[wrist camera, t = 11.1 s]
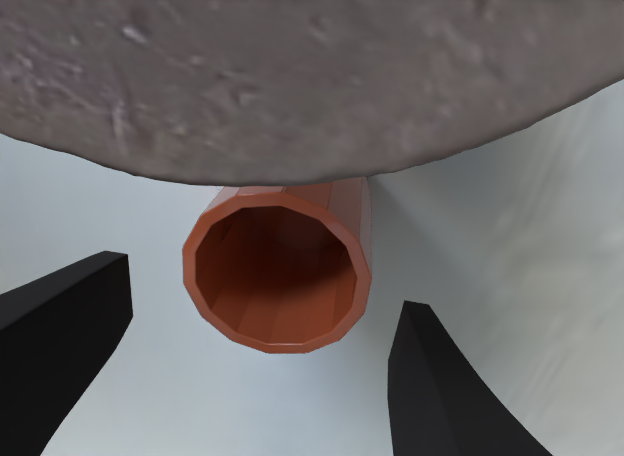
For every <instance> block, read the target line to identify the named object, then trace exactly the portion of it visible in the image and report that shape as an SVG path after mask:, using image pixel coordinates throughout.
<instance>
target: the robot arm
mask: <svg viewBox="0 0 624 456" xmlns="http://www.w3.org/2000/svg"><path fill="white" fill-rule="evenodd" d="M132 318H133V309H132V298H131V286H130V274H129V262H128V254H123V253H117V252H111V251H103V252H100V253H97V254H94V255H92V256H89V257H87V258H85V259H82V260H80V261H78V262H75V263H73V264H71V265H69V266H66V267H64V268H62V269H60V270H57V271H55V272H53V273H51V274H48V275H46V276H44V277H41V278H39V279H37V280H35V281H32V282H30V283H28V284H25V285H23V286H21V287H18V288H16V289H13V290H11V291H8V292H6V293H3V294H1V295H0V456H40V455H41V453H42V452H43V450H44V448H45V447H46V445H47V443H48V442H49V440H50V439H51V437H52V436H53V434H54V433H55V432H56V430H57V429H58V427H59V426H60V424H61V423H62V421H63V420H64V419H65V417H66V416H67V415H68V413H69V412H70V411H71V409H72V408H73V407H74V405H75V404H76V403H77V401H78V400H79V399H80V397H81V396H82V395H83V393H84V392H85V391H86V389H87V388H88V386H89V385H90V384H91V382H92V381H93V380H94V378H95V377H96V376H97V374H98V373H99V372H100V370H101V369H102V367H103V366H104V365H105V363H106V362H107V361H108V359H109V358H110V356H111V355H112V354H113V352H114V351H115V349H116V348H117V346H118V344H119V342H120V340H121V339H122V337H123V335H124V333H125V331H126V329H127V328H128V326H129V324H130V322H131V320H132ZM388 408H389V418H390V427H391V436H392V445H393V455H394V456H553V455H552V454H551V453H550V452H549V451H547V450H546V449H545V448H544V447H543V446H542V445H541V444H540V443H539V442H538V441H537V440H536V439H535V438H534V437H533V436H532V435H531V434H530V433H529V432H528V431H527V430H526V429H525V428H524V427H523V426H522V424H521V423H520V422H519V421H518V420H517V419H516V418H515V417H514V416H513V415H512V414H511V413H510V412H509V411H508V410H507V409H506V407H505V406H504V405H503V404H502V403H501V402H500V401H499V400H498V398H497V397H496V396H495V395H494V394H493V392H492V391H491V390H490V389H489V388H488V386H487V385H486V384H485V383H484V381H483V380H482V379H481V378H480V377H479V375H478V374H477V373H476V371H475V370H474V369H473V368H472V366H471V365H470V363H469V362H468V361H467V359H466V358H465V357H464V355H463V354H462V353H461V351H460V350H459V348H458V347H457V346H456V344H455V343H454V341H453V340H452V338H451V337H450V335H449V334H448V332H447V331H446V329H445V328H444V326H443V325H442V323H441V322H440V320H439V319H438V317H437V316H436V314H435V313H434V312H433V310H432V309H431V307H430V306H429V304H423V303H417V302H411V301H405V300H404V304H403V308H402V311H401V315H400V319H399V322H398V326H397V330H396V333H395V337H394V341H393V345H392V348H391V352H390V356H389V359H388Z"/></svg>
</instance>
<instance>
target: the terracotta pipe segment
mask: <svg viewBox="0 0 624 456" xmlns="http://www.w3.org/2000/svg"><path fill="white" fill-rule="evenodd" d="M182 256H183V283H184V286H185V288H186V290H187V292H188V293H189V295H190V297H191V299H192V301H193V303H194V304H195V306H196V308H197V310H198V312H199V314H200V315H201V316H202V318H204V319H205V320H206V321H207V322H209V323H210V324H211V325H212V326H213V327H215V328H216V329H217V330H218V331H220V332H221V333H222V334H223V335H225V336H226V337H227V338H228V339H229V340H231V341H233V342H236V343H239V344H242V345H245V346H248V347H250V348H253V349H256V350H259V351H262V352H265V353H269V354H298V353H309V352H311V351H314V350H316V349H319V348H321V347H324V346H326V345H329V344H331V343H334V342H336V341H339V340H340V339H342V337H343V336H344V335H345V334H346V333H347V332H348V331H349V330H350V329H351V327H352V326H353V325H354V324H355V323H356V322H357V321H358V320H359V319H360V318H361V316H362V315H363V314H364V312H365V309H366V304H367V299H368V295H369V290H370V285H371V280H372V247H371V194H370V190H369V185H368V180H367V177H357V178H348V179H342V180H337V181H332V182H328V183H320V184H311V185H302V186H270V187H267V186H247V187H226V186H224V187H223V188H222V190H221V191H220V192H219V193H218V194H217V196H216V197H215V198H214V199H213V201H212V202H211V203H210V204H209V206H208V207H207V208H206V209H205V210H204V212H203V213H202V214H201V215H200V217H199V219H198V220H197V222H196V224H195V226H194V227H193V229H192V231H191V233H190V234H189V236H188V238H187V240H186V242H185V243H184V245H183V248H182Z"/></svg>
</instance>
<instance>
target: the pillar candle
mask: <svg viewBox="0 0 624 456" xmlns="http://www.w3.org/2000/svg"><path fill="white" fill-rule="evenodd" d="M623 79H624V0H0V133H1V134H3V135H6V136H8V137H11V138H13V139H16V140H20V141H24V142H28V143H32V144H35V145H38V146H41V147H44V148H47V149H51V150H55V151H59V152H65V153H69V154H72V155H75V156H78V157H81V158H84V159H86V160H89V161H91V162H94V163H96V164H99V165H101V166H104V167H107V168H111V169H114V170H118V171H123V172H126V173H128V174H131V175H133V176H141V177H145V178H149V179H154V180H160V181H166V182H174V183H182V184H188V185H203V186H226V187H247V186H267V187H270V186H302V185H311V184H320V183H328V182H332V181H337V180H342V179H348V178H357V177H366V176H373V175H378V174H383V173H394V172H397V171H400V170H403V169H406V168H410V167H413V166H419V165H423V164H426V163H430V162H433V161H437V160H442V159H445V158H447V157H450V156H452V155H455V154H457V153H460V152H462V151H465V150H469V149H473V148H477V147H479V146H482V145H484V144H487V143H489V142H492V141H494V140H497V139H499V138H502V137H505V136H507V135H510V134H512V133H515V132H517V131H520V130H523V129H526V128H528V127H530V126H531V125H533V124H535V123H536V122H538V121H540V120H542V119H544V118H547V117H549V116H551V115H553V114H555V113H557V112H559V111H561V110H563V109H565V108H567V107H570V106H572V105H574V104H576V103H578V102H580V101H582V100H584V99H586V98H588V97H590V96H592V95H593V94H595V93H597V92H598V91H600V90H602V89H604V88H605V87H608V86H610V85H612V84H614V83H616V82H618V81H620V80H623Z"/></svg>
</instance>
